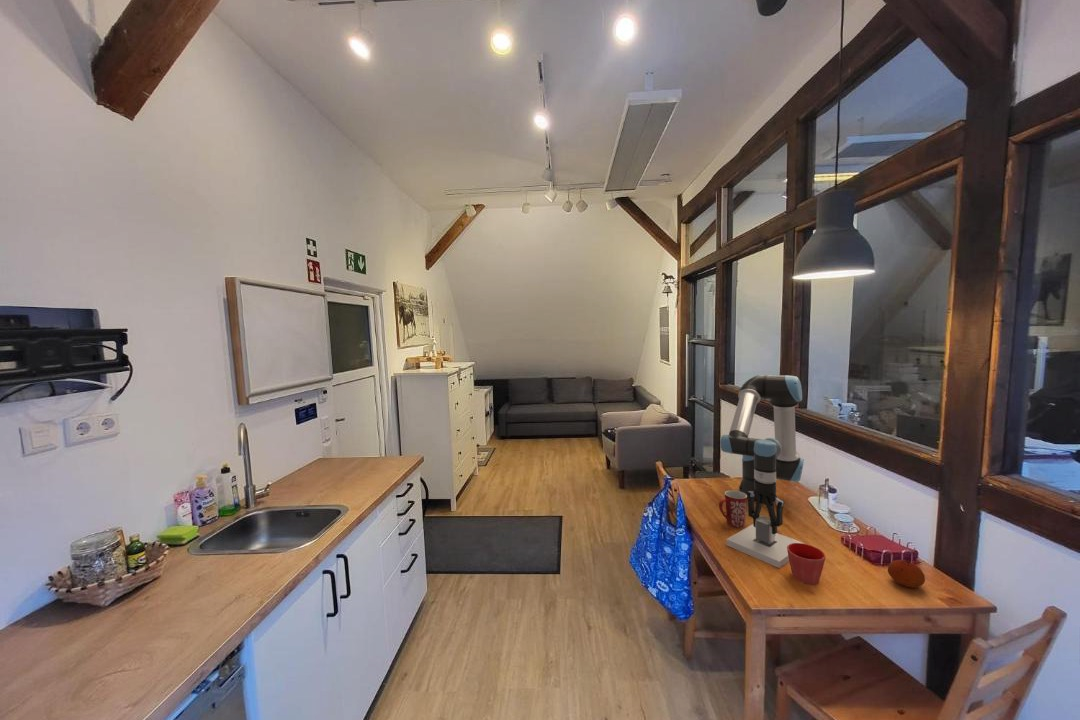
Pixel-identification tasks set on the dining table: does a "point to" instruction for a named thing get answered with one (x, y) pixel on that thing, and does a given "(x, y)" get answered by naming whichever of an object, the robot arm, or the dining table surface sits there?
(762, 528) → the plug
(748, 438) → the robot arm
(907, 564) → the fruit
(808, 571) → the flower pot
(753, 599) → the dining table surface
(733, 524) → the mug
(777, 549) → the socket plate
